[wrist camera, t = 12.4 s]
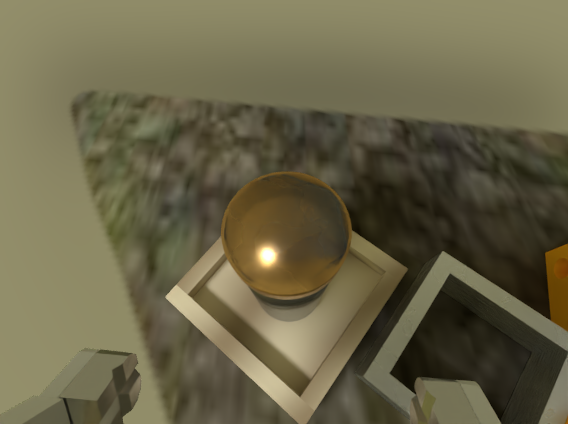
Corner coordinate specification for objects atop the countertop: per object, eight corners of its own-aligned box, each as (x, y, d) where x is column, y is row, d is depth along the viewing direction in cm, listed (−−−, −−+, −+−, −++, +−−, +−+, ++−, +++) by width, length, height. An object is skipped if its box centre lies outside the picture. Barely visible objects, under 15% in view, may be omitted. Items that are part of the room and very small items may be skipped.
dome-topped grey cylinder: (336, 281, 21) (377, 218, 11) (294, 339, 20) (297, 324, 10) (283, 241, 23) (277, 151, 13) (240, 292, 21) (193, 237, 11)
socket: (553, 349, 20) (594, 348, 17) (492, 489, 17) (528, 514, 15) (424, 263, 23) (442, 250, 20) (354, 373, 20) (363, 376, 17)
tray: (398, 276, 22) (408, 268, 20) (302, 420, 19) (303, 427, 17) (276, 191, 25) (275, 177, 23) (176, 302, 22) (164, 297, 20)
